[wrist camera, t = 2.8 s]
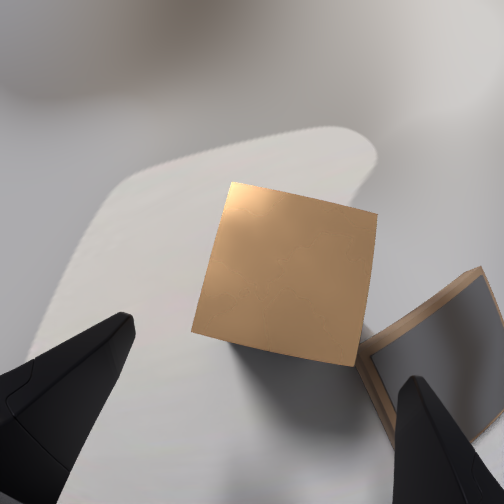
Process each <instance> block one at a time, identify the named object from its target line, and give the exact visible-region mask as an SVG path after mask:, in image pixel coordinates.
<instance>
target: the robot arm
mask: <svg viewBox="0 0 504 504" xmlns="http://www.w3.org/2000/svg"><path fill="white" fill-rule="evenodd" d="M135 335H136V332H135V326H134V319H133V316H132V315H131V314H128V313H125V312H119V313H117V314H115V315H113V316H111V317H109V318H107V319H105V320H104V321H102V322H100V323H98V324H96V325H94V326H93V327H91V328H89V329H87V330H85V331H83V332H81V333H80V334H78V335H76V336H74V337H72V338H70V339H69V340H67V341H65V342H63V343H61V344H59V345H58V346H56V347H54V348H52V349H50V350H49V351H47V352H45V353H43V354H41V355H39V356H38V357H36V358H35V360H34V359H32V360H30V361H28V362H27V363H25V364H23V365H21V366H19V367H17V368H15V369H13V370H11V371H9V372H7V373H4V374H2V375H0V504H56V503H57V501H58V499H59V496H60V494H61V492H62V490H63V488H64V485H65V483H66V481H67V479H68V477H69V475H70V472H71V470H72V468H73V466H74V464H75V462H76V460H77V457H78V455H79V453H80V451H81V449H82V447H83V445H84V443H85V441H86V439H87V437H88V435H89V433H90V431H91V429H92V427H93V425H94V423H95V421H96V420H97V418H98V416H99V414H100V412H101V410H102V408H103V406H104V404H105V402H106V400H107V399H108V397H109V395H110V393H111V391H112V389H113V387H114V385H115V384H116V382H117V380H118V378H119V376H120V373H121V371H122V369H123V366H124V364H125V361H126V359H127V356H128V354H129V351H130V349H131V347H132V344H133V342H134V339H135ZM392 504H504V490H503V488H502V487H501V486H500V484H499V483H498V482H497V481H496V479H495V478H494V477H493V475H492V474H491V473H490V471H489V470H488V469H487V467H486V466H485V464H484V463H483V461H482V460H481V458H480V457H479V455H478V454H477V452H475V449H474V448H473V446H472V445H471V443H470V442H469V440H468V439H467V437H466V436H465V434H464V433H463V431H462V430H461V429H460V427H459V426H458V424H457V423H456V421H455V420H454V418H453V417H452V416H451V414H450V413H449V411H448V410H447V409H446V407H445V406H444V404H443V403H442V402H441V400H440V399H439V397H438V396H437V395H436V393H435V392H434V391H433V389H432V388H431V387H430V385H429V384H428V382H427V381H426V380H425V378H424V377H423V376H418V375H412V376H410V377H409V378H408V380H407V381H406V382H405V383H404V385H403V386H402V387H401V389H400V390H399V393H398V400H397V414H396V426H395V459H394V487H393V502H392Z"/></svg>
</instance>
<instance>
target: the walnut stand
mask: <svg viewBox="0 0 504 504" xmlns="http://www.w3.org/2000/svg"><path fill="white" fill-rule="evenodd" d="M355 366H356V368H357V370H358V372H359V375H360V377H361V379H362V381H363V383H364V385H365V387H366V389H367V391H368V394H369V396H370V398H371V400H372V402H373V404H374V406H375V409H376V411H377V413H378V415H379V417H380V420H381V422H382V424H383V426H384V428H385V431H386V433H387V435H388V437H389V440H390V442H391V444H392V446H393V449H394V451H395V426H396V414H397V400H398V393H399V390H400V389H401V387H402V386H403V385H404V383H405V382H406V381H407V380H408V378H409V377H410V376H412V375H418V376H423V377H424V378H425V380H426V381H427V382H428V384H429V385H430V387H431V388H432V389H433V391H434V392H435V393H436V395H437V396H438V397H439V399H440V400H441V402H442V403H443V404H444V406H445V407H446V409H447V410H448V411H449V413H450V414H451V416H452V417H453V418H454V420H455V421H456V423H457V424H458V426H459V427H460V429H461V430H462V431H463V433H464V434H465V436H466V437H467V439H468V440H469V442H470V443H472V442H473V441H474V440H475V439H476V438H477V437H478V436H479V435H480V434H481V433H482V432H484V431H485V430H486V429H487V428H488V427H489V426H490V425H491V424H492V423H493V422H494V421H495V420H496V419H497V418H498V417H499V416H500V415H501V414H502V413H503V412H504V321H503V318H502V315H501V313H500V310H499V307H498V305H497V302H496V299H495V297H494V294H493V292H492V290H491V287H490V285H489V282H488V280H487V278H486V276H485V273H484V271H483V269H482V267H481V266H480V267H477V268H474V269H472V270H469V271H467V272H464V273H463V274H462V275H460V276H459V277H458V278H457V279H455V280H454V281H453V282H452V283H450V284H449V285H447V286H446V287H445V288H444V289H442V290H441V291H439V292H438V293H437V294H435V295H434V296H433V297H431V298H430V299H429V300H427V301H426V302H424V303H423V304H422V305H420V306H419V307H418V308H416V309H414V310H413V311H411V312H410V313H408V314H407V315H406V316H404V317H403V318H401V319H400V320H398V321H397V322H395V323H393V324H392V325H390V326H389V327H387V328H386V329H384V330H383V331H381V332H379V333H378V334H376V335H375V336H373V337H371V338H370V339H368V340H366V341H365V342H363V343H361V344H360V345H359V346H358V350H357V355H356V359H355Z"/></svg>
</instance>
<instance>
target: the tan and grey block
mask: <svg viewBox="0 0 504 504" xmlns="http://www.w3.org/2000/svg"><path fill="white" fill-rule="evenodd" d="M377 215H378V214H375V213H371V212H367V211H364V210H360V209H356V208H352V207H348V206H344V205H339V204H335V203H331V202H327V201H322V200H318V199H314V198H309V197H305V196H300V195H296V194H291V193H286V192H281V191H277V190H272V189H267V188H262V187H257V186H251V185H246V184H241V183H236V182H232V183H231V186H230V190H229V193H228V196H227V200H226V203H225V207H224V210H223V214H222V217H221V221H220V224H219V228H218V231H217V235H216V238H215V242H214V246H213V249H212V253H211V257H210V260H209V264H208V268H207V271H206V275H205V279H204V283H203V286H202V290H201V294H200V298H199V302H198V306H197V310H196V313H195V317H194V321H193V325H192V329H191V332H193V333H197V334H201V335H204V336H208V337H212V338H216V339H219V340H223V341H227V342H231V343H235V344H240V345H244V346H248V347H252V348H257V349H261V350H266V351H270V352H275V353H279V354H284V355H289V356H294V357H299V358H304V359H310V360H315V361H321V362H326V363H332V364H338V365H344V366H351V367H354V364H355V359H356V355H357V350H358V346H359V341H360V336H361V331H362V326H363V320H364V315H365V309H366V303H367V297H368V290H369V284H370V277H371V270H372V262H373V254H374V245H375V237H376V227H377Z"/></svg>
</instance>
